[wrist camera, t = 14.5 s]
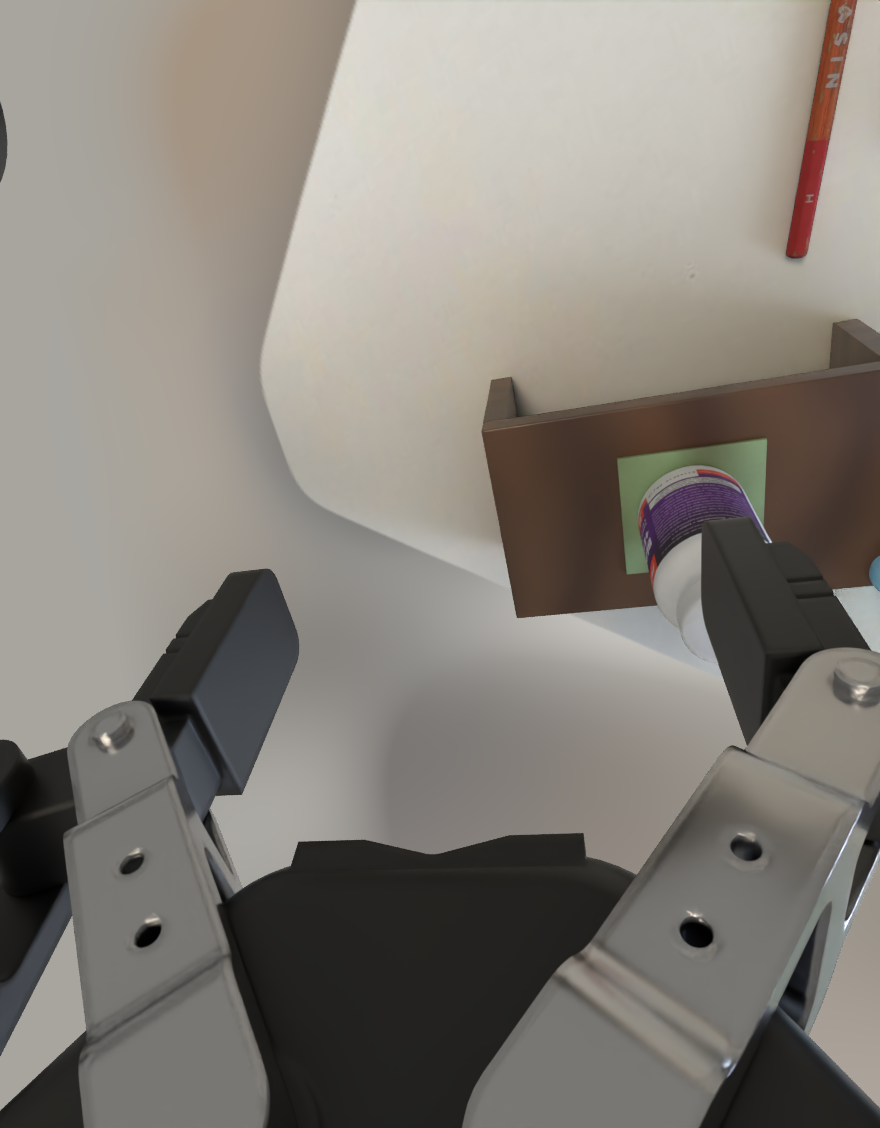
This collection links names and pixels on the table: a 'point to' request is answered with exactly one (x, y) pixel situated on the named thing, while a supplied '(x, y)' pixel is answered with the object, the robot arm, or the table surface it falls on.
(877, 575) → the teapot
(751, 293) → the table surface
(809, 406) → the shelf
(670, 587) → the pill bottle
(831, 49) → the pencil
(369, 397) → the table surface
